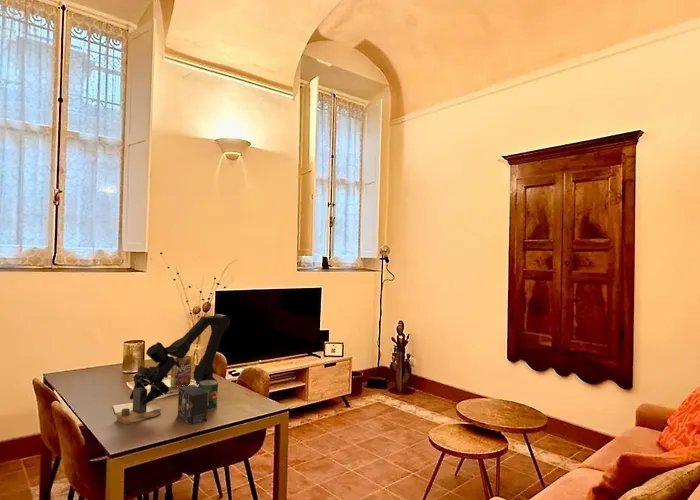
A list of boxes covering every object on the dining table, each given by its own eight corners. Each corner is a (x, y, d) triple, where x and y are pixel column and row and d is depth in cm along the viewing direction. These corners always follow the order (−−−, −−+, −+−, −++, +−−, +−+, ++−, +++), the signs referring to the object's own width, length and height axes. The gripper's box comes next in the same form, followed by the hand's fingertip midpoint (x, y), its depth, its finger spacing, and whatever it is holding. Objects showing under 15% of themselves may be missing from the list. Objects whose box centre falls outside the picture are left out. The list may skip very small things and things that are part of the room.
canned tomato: (197, 404, 204) (199, 380, 204) (216, 403, 207) (217, 379, 207) (198, 411, 197) (199, 385, 197) (217, 409, 199) (218, 384, 199)
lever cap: (139, 408, 189) (140, 387, 189) (146, 411, 186) (147, 389, 186) (132, 410, 187) (133, 388, 187) (139, 413, 184) (140, 391, 184)
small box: (176, 415, 190) (178, 387, 190) (192, 412, 195) (193, 384, 195) (191, 425, 181) (192, 395, 181) (207, 421, 186) (208, 392, 186)
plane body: (151, 410, 195) (152, 399, 195) (160, 414, 191) (161, 403, 191) (116, 420, 182) (117, 408, 182) (125, 424, 179) (125, 412, 179)
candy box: (173, 388, 225) (174, 357, 225) (169, 386, 228) (171, 355, 228) (190, 385, 231) (192, 355, 231) (187, 383, 234) (188, 353, 234)
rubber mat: (138, 403, 203) (138, 402, 203) (141, 410, 194) (141, 409, 194) (113, 406, 197) (113, 405, 197) (115, 414, 189) (115, 412, 189)
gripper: (138, 354, 195) (111, 385, 186) (163, 362, 184) (136, 395, 175) (154, 369, 202) (129, 400, 193) (180, 377, 191) (154, 411, 182)
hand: (136, 401), depth 185 cm, fingers open, 9 cm apart
